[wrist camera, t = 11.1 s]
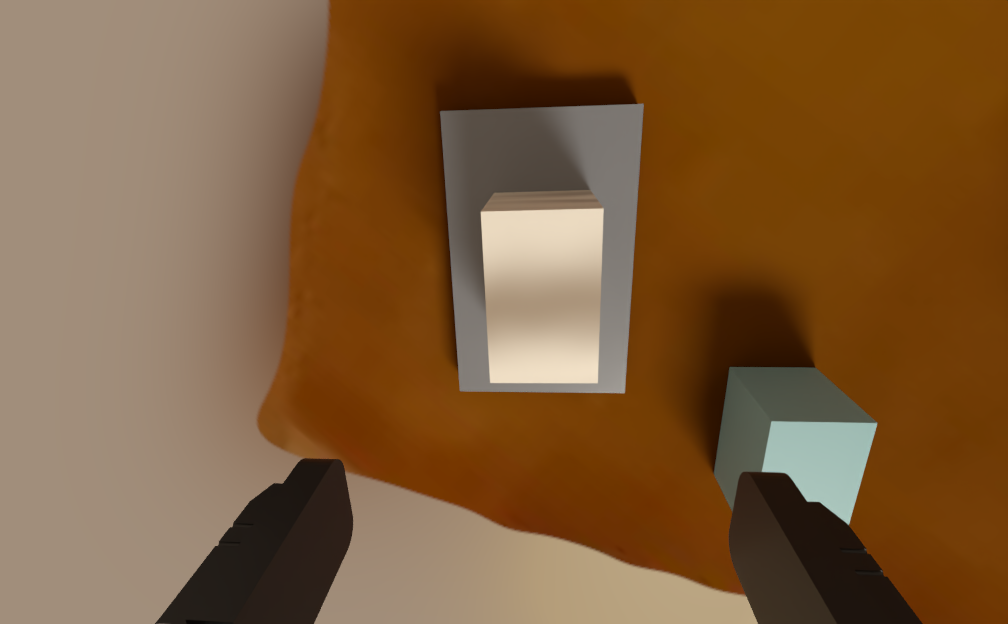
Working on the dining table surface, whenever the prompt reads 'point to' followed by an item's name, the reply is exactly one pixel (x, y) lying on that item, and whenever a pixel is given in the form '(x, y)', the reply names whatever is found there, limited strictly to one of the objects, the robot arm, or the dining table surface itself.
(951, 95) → the dining table surface
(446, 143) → the baseplate
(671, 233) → the dining table surface
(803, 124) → the dining table surface
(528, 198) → the cream brick
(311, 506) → the robot arm
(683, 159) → the dining table surface
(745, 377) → the teal brick
